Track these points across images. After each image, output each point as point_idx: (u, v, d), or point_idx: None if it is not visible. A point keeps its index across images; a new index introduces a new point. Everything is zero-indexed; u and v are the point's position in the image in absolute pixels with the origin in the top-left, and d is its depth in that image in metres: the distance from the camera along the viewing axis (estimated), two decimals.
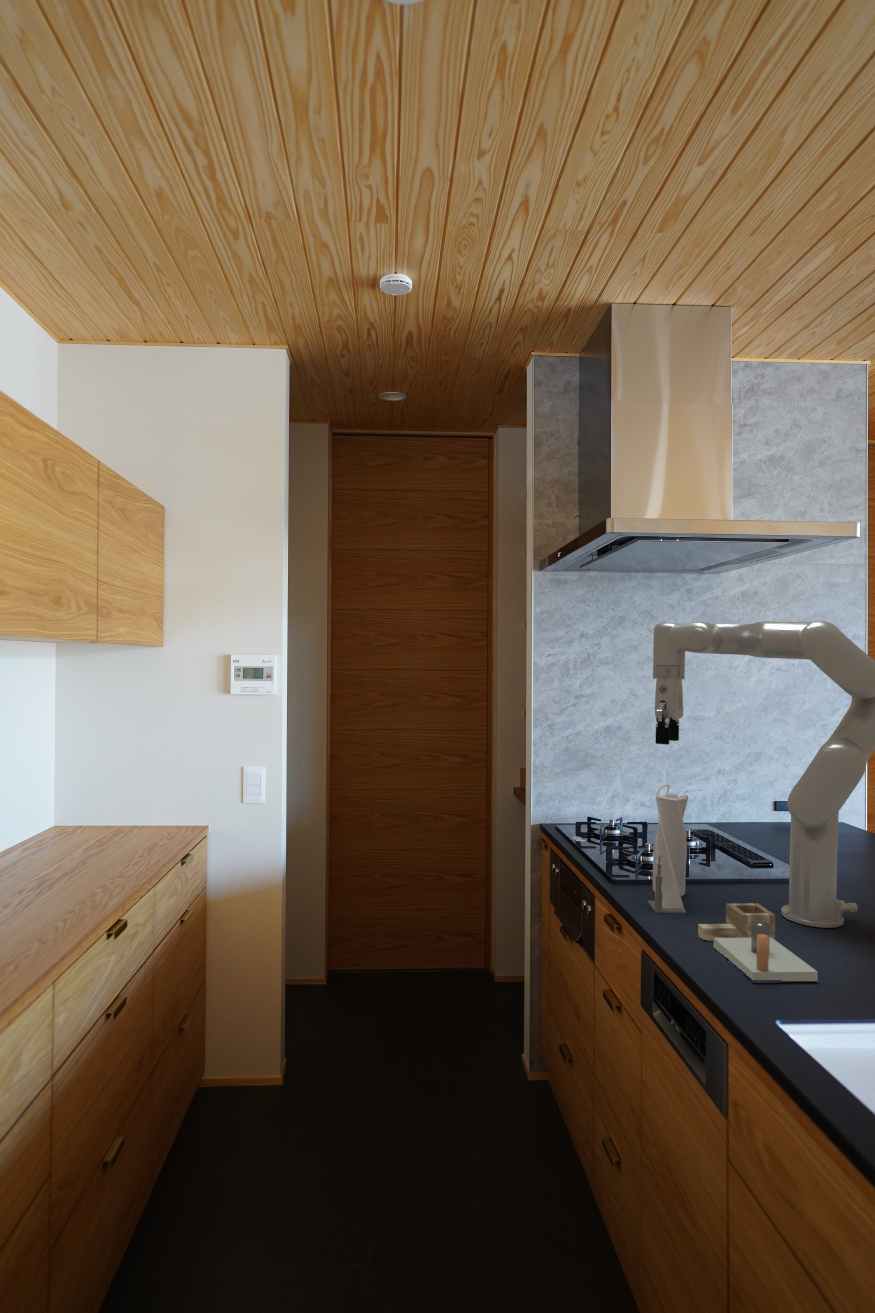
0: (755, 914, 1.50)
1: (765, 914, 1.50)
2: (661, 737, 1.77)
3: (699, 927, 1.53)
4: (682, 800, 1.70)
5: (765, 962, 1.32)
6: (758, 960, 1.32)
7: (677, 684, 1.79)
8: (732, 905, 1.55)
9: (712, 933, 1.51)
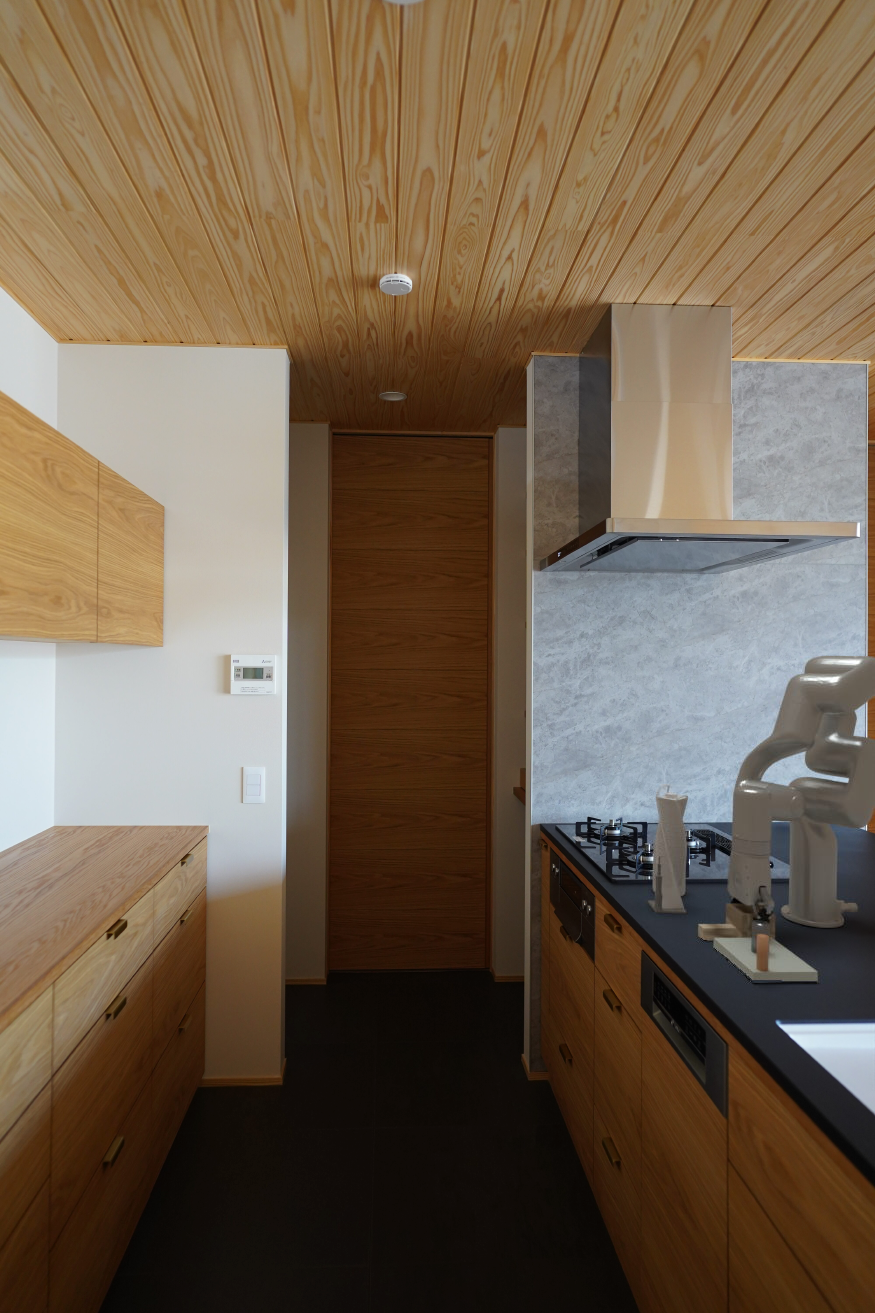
0: None
1: None
2: None
3: (699, 927, 1.53)
4: (682, 800, 1.70)
5: (765, 962, 1.32)
6: (758, 960, 1.32)
7: (733, 856, 1.55)
8: (732, 905, 1.55)
9: (712, 933, 1.51)
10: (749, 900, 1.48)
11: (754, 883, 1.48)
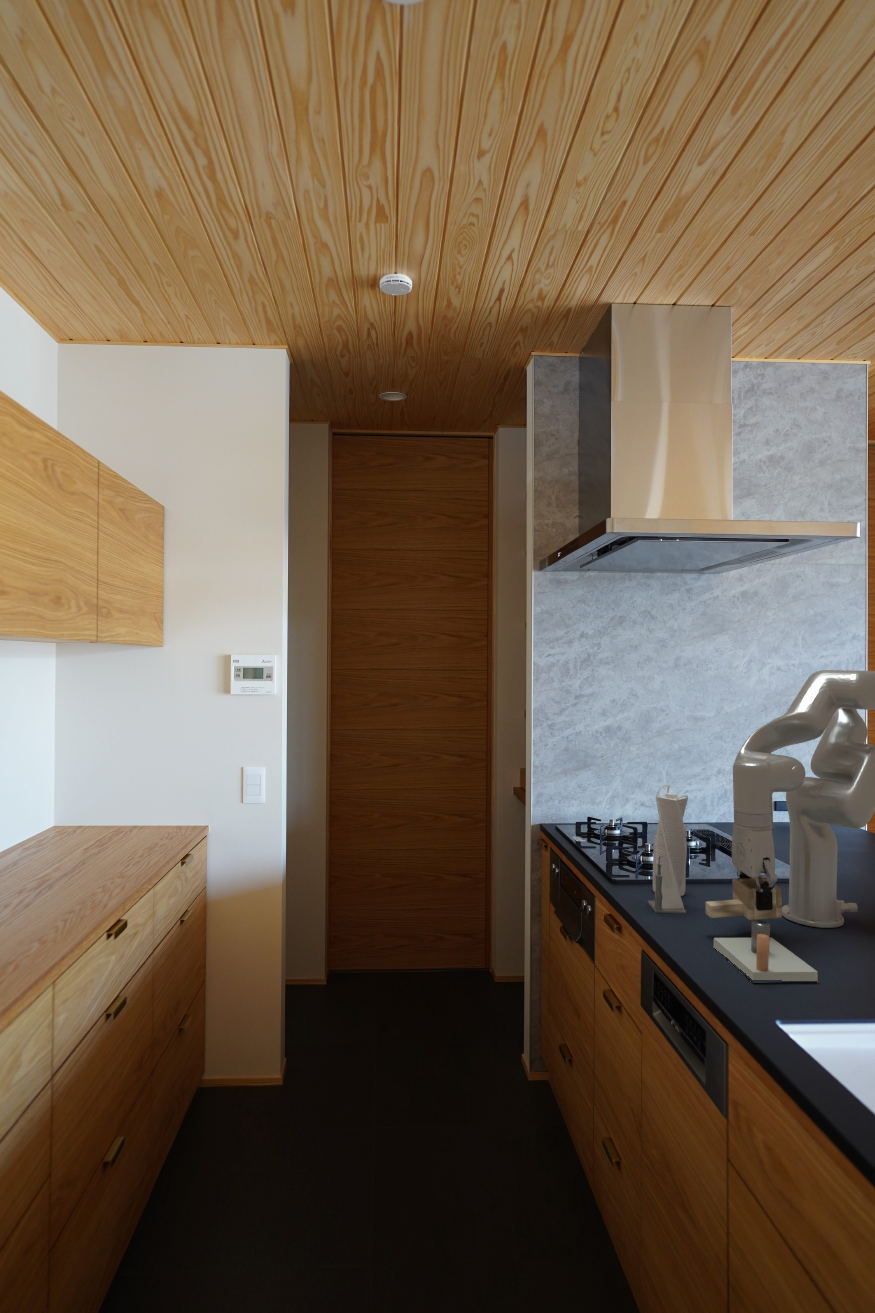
0: None
1: None
2: None
3: (706, 905, 1.54)
4: (682, 800, 1.70)
5: (765, 962, 1.32)
6: (758, 960, 1.32)
7: (736, 829, 1.55)
8: (738, 881, 1.56)
9: (719, 910, 1.52)
10: (753, 872, 1.49)
11: (758, 855, 1.48)
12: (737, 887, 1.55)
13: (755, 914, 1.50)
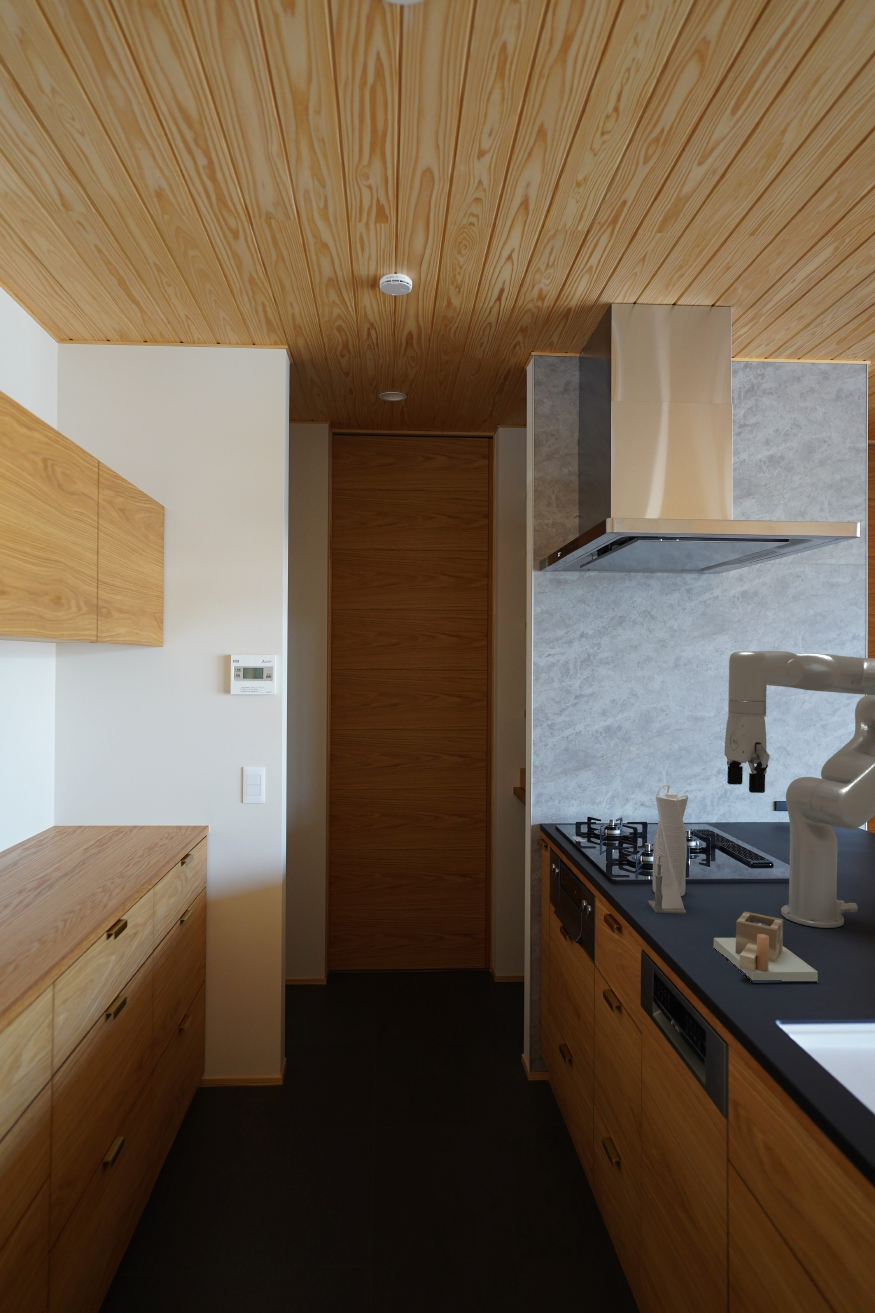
0: (776, 924, 1.39)
1: (778, 921, 1.40)
2: None
3: (743, 958, 1.33)
4: (682, 800, 1.70)
5: (765, 962, 1.32)
6: (758, 960, 1.32)
7: (730, 720, 1.60)
8: (743, 921, 1.40)
9: None
10: (745, 756, 1.53)
11: (750, 740, 1.53)
12: (748, 929, 1.39)
13: (776, 954, 1.37)
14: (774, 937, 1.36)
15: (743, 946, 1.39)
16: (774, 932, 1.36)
